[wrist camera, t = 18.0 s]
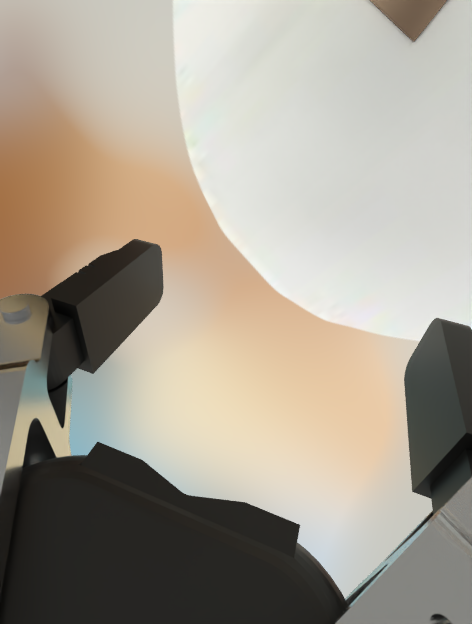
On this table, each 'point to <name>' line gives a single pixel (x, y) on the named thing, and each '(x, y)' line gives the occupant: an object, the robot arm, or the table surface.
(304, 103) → the table surface
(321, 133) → the table surface
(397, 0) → the base plate
